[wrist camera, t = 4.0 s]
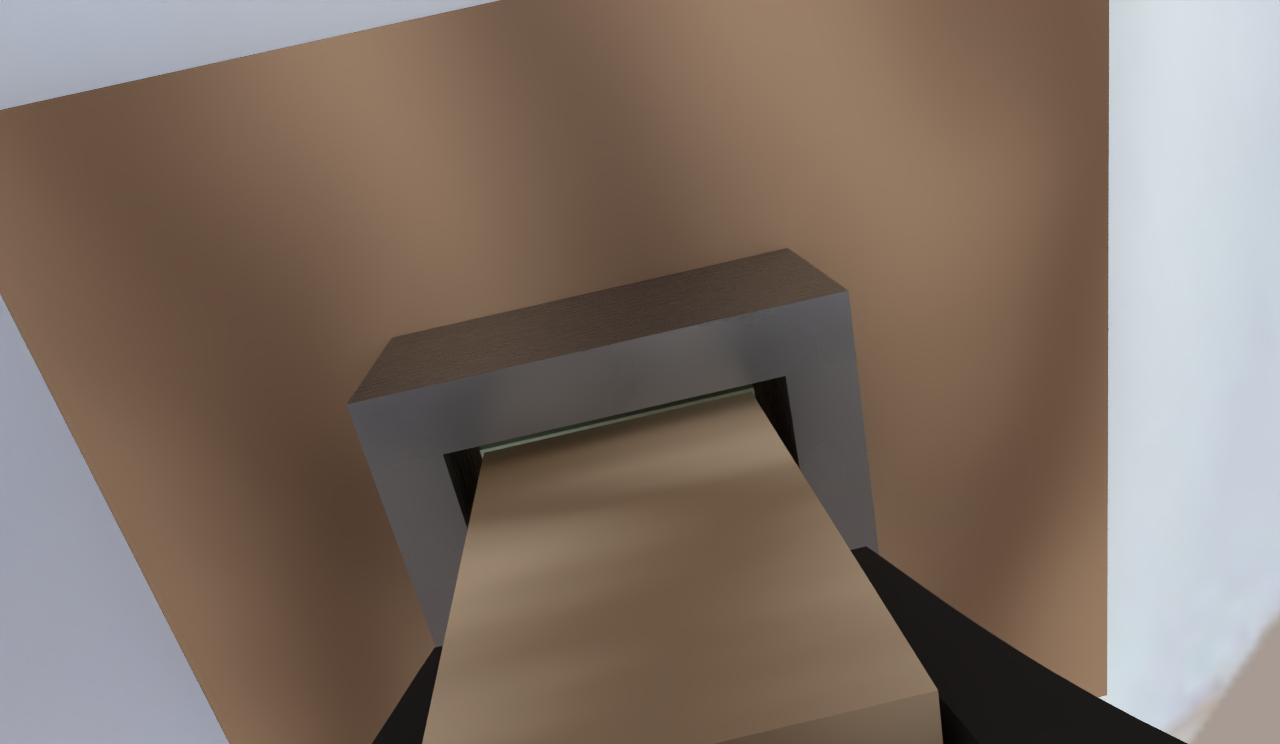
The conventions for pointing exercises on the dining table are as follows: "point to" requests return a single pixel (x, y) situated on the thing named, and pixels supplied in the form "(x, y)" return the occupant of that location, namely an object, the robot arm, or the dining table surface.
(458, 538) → the sleeve
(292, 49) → the board
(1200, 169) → the dining table surface
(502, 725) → the post
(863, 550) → the robot arm
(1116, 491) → the dining table surface
